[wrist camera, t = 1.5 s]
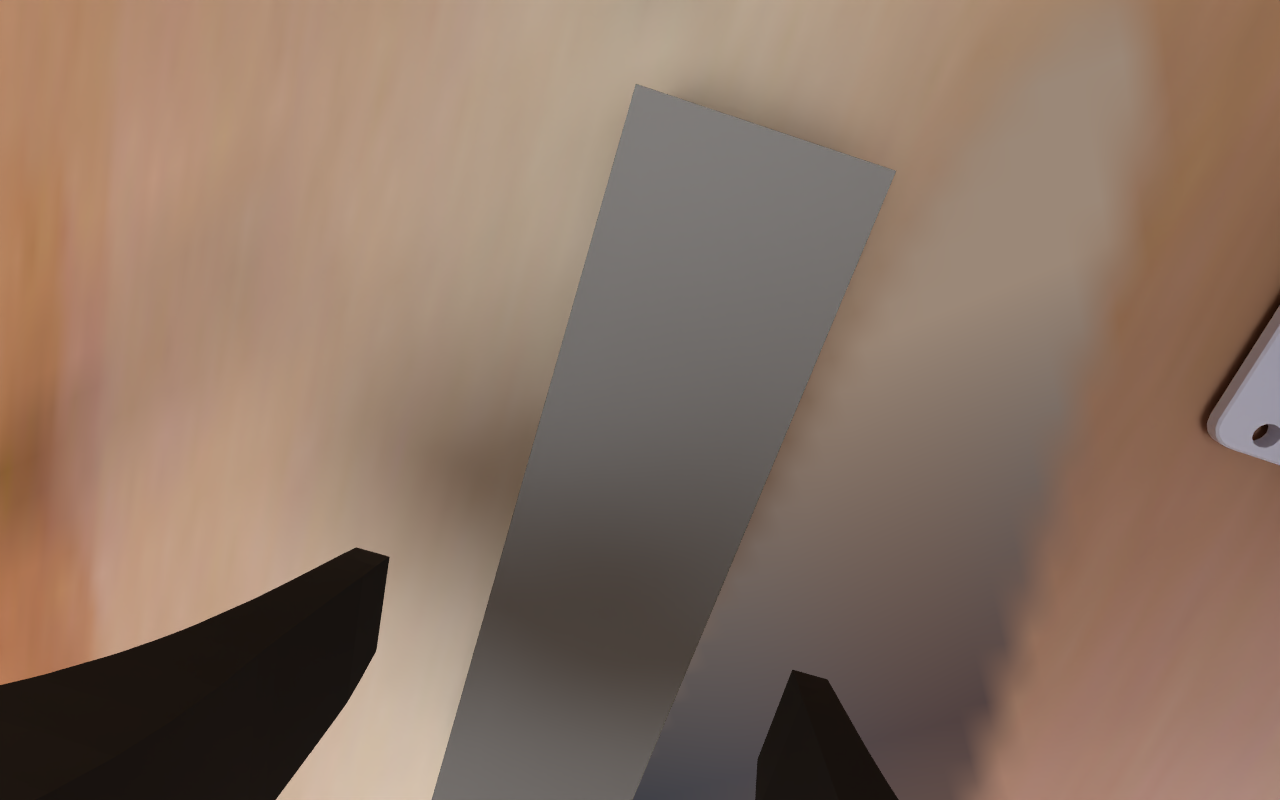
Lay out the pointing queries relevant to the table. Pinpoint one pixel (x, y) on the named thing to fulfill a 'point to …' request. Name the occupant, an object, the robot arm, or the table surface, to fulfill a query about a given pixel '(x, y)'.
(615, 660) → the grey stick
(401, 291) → the table surface
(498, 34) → the table surface
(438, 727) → the table surface
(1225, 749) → the table surface
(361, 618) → the robot arm
